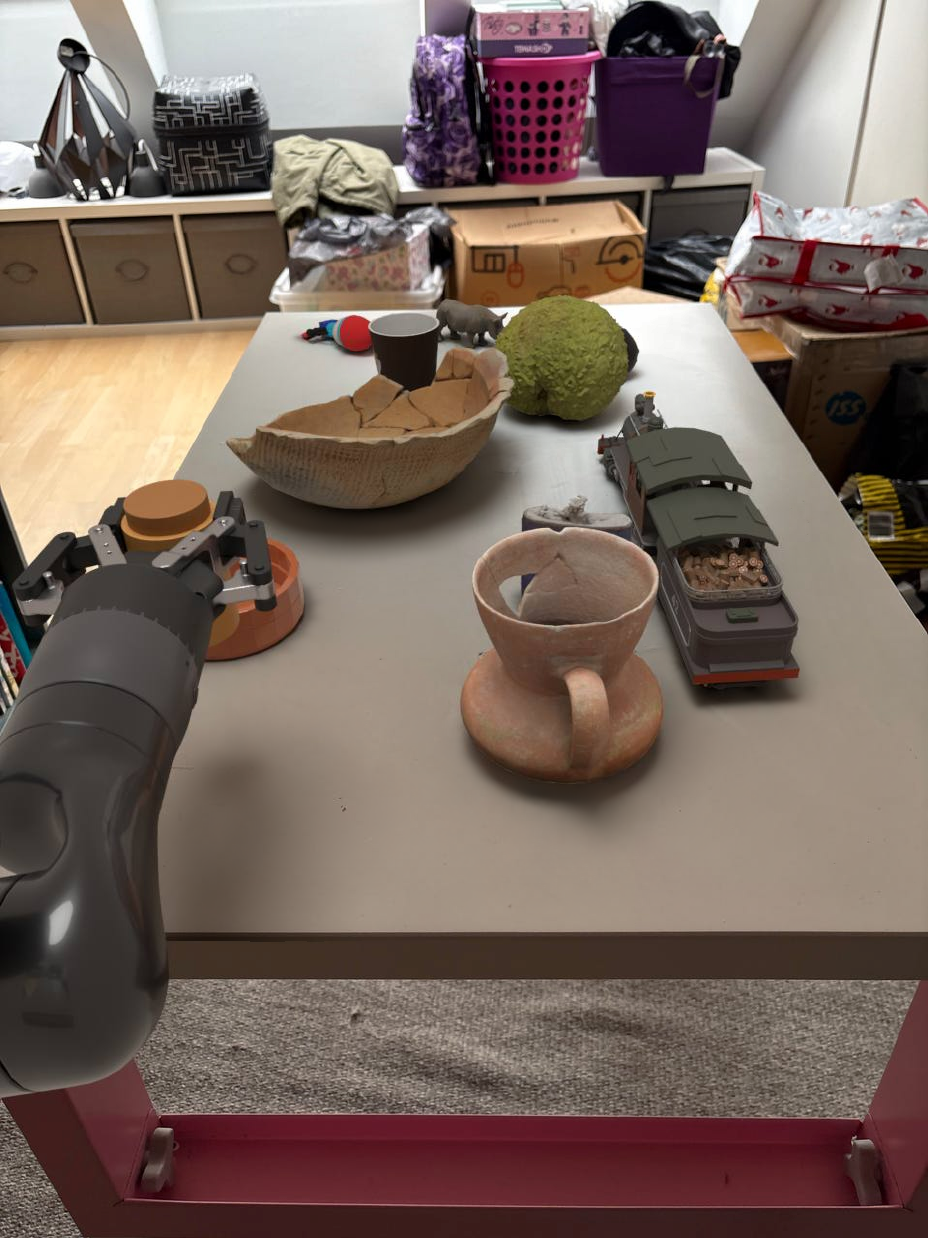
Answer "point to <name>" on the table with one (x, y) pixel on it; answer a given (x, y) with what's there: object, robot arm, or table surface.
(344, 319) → the toy figure
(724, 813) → the table surface
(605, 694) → the ceramic jug
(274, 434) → the ceramic bowl
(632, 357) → the figurine
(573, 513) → the flask
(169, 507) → the orange lidded canister
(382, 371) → the coffee mug
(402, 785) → the table surface
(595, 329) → the fruit
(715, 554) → the toy train
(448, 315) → the rhino figurine
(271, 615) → the terracotta bowl
